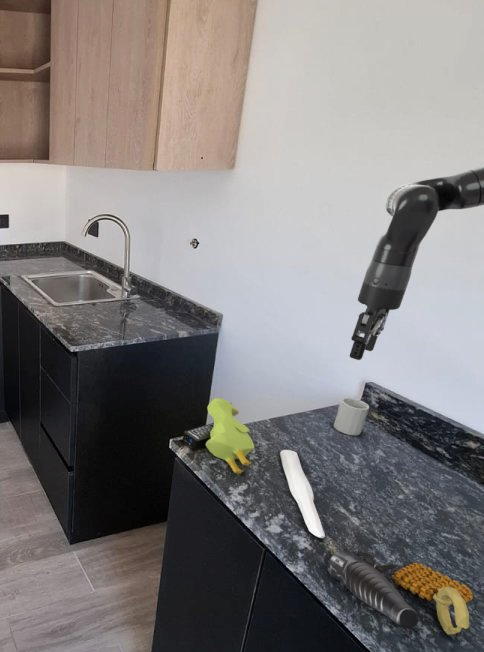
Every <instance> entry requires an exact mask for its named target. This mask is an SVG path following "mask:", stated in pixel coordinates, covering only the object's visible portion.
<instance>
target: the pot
mask: <svg viewBox="0 0 484 652" xmlns="http://www.w3.org/2000/svg"><path fill="white" fill-rule="evenodd" d="M369 410H370V405H369V404H368V403H366V402H365V401H363V400H361V399H357V398H354V397H342V398H341V399H340V401H339V405H338V408H337V411H336V414H335V418H334V422H333V428H334V429H335V430H337V431H338V432H340V433H342V434H345V435H348V436H359V435H361V433H362V431H363V429H364V425H365V422H366V419H367V417H368V413H369Z"/></svg>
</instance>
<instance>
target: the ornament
mask: <svg viewBox="0 0 484 652" xmlns="http://www.w3.org/2000/svg"><path fill="white" fill-rule="evenodd" d="M393 573H394V574H391V577H392V578H391V579H392V580H393V581H394V583H395V585H397V586H401V587H402V588H403V589H404V590H409V591H410V592H411V593H412V594H413V595H416V594H417V595H418V597H419V598H421V599H422V600H425V599H426V600H427V601H428V602H429V601H431V600H434V601H435V609H436V615H437V620H438V622H439V623H440V626H441V628H442V629H443V632H444V633H446V634H447V635H457V634H458V633H460V632H461V631H462V629H465V630H467V629H470V613H469V610H468V606H467V603H468V602H471V601H472V600H473V599H474V594H473V591H472V590H471V588H469V587H468V586H467V585H466V584H464V583H462V584H460V583H459V581H457V580H455V579H452V580H451V578H450V577H449V576H448V575H442V573H441V572H440V571H434V570H433V569H432V568H431V567H429V566H428V567H426V566H425V564H423V563H422V562H421V563H418V562H413V563H411V564H410V563H409V565H405V567H402V568H401V569H398V570H397V571H394V572H393ZM451 605H453V609H454V619H455V620H454V621H455V625H456V627H454V625H453V622H452V619H451V616H450V611H449V607H450V606H451Z"/></svg>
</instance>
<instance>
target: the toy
mask: <svg viewBox="0 0 484 652" xmlns="http://www.w3.org/2000/svg"><path fill="white" fill-rule="evenodd" d="M206 408H207V412H208V414H209V415H210V416H211V417H212V419H213V423H214V426H213V429H212V430H211V432H210V436H211V439H209V440H208V441H207V443H206V446H205V447H206V448H207V450H208V451H209V452H210V453H211V454H212V455H213V456H214V457H216V458H219V459H221V460H224V461H225V462H226V463H227V464H228V465H229V466H230V468H231V470H232V471H233V473H234V474H239V475H240V474H242V473H243V472H244V470H242V469H241V468H240V467H239V466H238V465H237V463H236V461H235V460H239V461H240V463H241V465H242V466H250V464H252V462H251V461H249V460H248V459H247V458H246V457H247V455H248V454H249V453H251V452H252V451H253V450H254V448H255V444H254V441H253V440H252V438H251V436H250V434H249V432H250V429H249V428H248V427H247V426H246V425H245V424H244V423H242V422H240V421H238V420H237V419H236V418H235V416H237V415H238V414H239V410H238V408H236V407H235V406H234V405H233V404H232V402H230V401H229V400H227V399H224V398H222V397H221V398H220V397H216V398H213V399H212V400H211V401H210V402H209V403H208V405H207V407H206Z"/></svg>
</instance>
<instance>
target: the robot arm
mask: <svg viewBox="0 0 484 652" xmlns="http://www.w3.org/2000/svg"><path fill="white" fill-rule="evenodd" d="M481 206H484V166H481V167H477V168H472V169H468V170H465V171H462V172H461V171H460V172H458V173H455V174H452V175H447V176H440V177H435V178H429V179H423V180H419V181H414V182H409V183H405V184H402V185H400V186H397V187H396V188H394V189H393V190H392V191H391V192H390V193H389V194H388V196H387V197H386V199H385V202H384V207H385V210H386V212H387V214H389V216H390V217H391V220H390V222H389V225H388V226H387V227H388V228H387V230H386V231H385V232H384V233H382V234H381V235H380V236H379V238H378V240H377V242H376V245H375V247H374V251H373V254H372V257H371V260H370V262H369V264H368V267H367V269H366V271H365V275H364V279H363V281H362V284H361V287H360V291H359V292H358V293H359V294H358V296H357V301H358V303H360V304H362V305H365V306H366V309H365V311H362V312H360V314H358V318H357V320H356V321H357V322H356V324H355V327H354V330H353V333H352V336H351V341H352V342H353V343H352V346H351V349H350V353H349V358H351V359H353V360H356V361H361V360H362V359H363V356H364V354H365V351H368V352H372V351H374V349H375V346H376V343H377V340H378V338H379V336H380V335H381V334H382V332H383V331H384V329H385V326H386V322H387V319H388V316H389V313H390V311H394V310H398V309H400V307H401V305H402V301H403V299H404V296H405V294H406V290H407V288H408V285H409V282H410V279H411V276H412V271H413V266H414V263H415V260H416V257H417V254H418V251H419V249H420V245H421V243H422V242H423V240H424V238H425V237H426V236H427V234H428V232H429V230H430V229H431V227H432V225H433V224H434V222H435V220H436V218H437V216H438V213H439V212H442V211H447V210H464V209H465V210H466V209H472V208H477V207H481ZM361 334H362V335H363V336H360V335H361Z"/></svg>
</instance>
